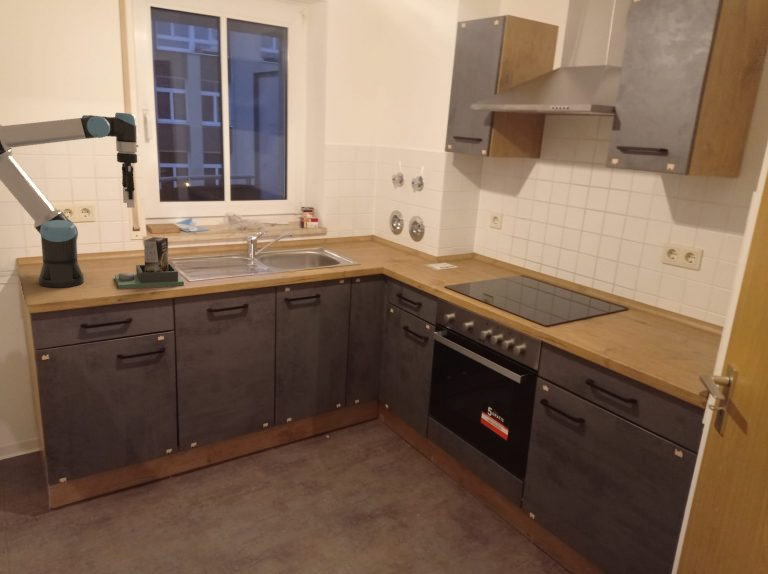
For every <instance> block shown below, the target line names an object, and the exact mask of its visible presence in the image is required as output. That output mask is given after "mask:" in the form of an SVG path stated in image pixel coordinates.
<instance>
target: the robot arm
mask: <svg viewBox="0 0 768 574" xmlns="http://www.w3.org/2000/svg"><path fill="white" fill-rule="evenodd" d="M136 119H137V118H136V115H135V114H133V113H125V112H115V115H114V116H113V117H112V116H110V117H109V116H101V115H92V114H89V115H88V114H87V115H85V114H84V115H81V117H78V118H77V117H76V118H69V119H68V118H67V119H59V120H48V121H47V120H46V121H38V122H30V123H29V122H27V123H18V124H17V123H16V124H8V125H2V124H0V182H2V183H3V185H4V186H5V187H6V189H7V190H8V191H9V192H10V194H11V195H12V196H13V197H14V198H15V199H16V201H17V202H18V203H19V204H20V205H21V206H22V207H23V209H24V211H26V212H27V214H28V215H29V217H30V218H31V219H32V220H33V221H34V224H33V227H34V228H35V230H36V231H37V232H38V234H40V240H41V254H42V267H41V270H40V272H39V273H40V274H39V277H38V283H39V285H40V286H42V287H45V288H55V289H56V288H71V287H75V286H79V285H82V284H84V282H85V279H84V278H85V277H84V273H83V272H82V270H81V267H80V265H79V263H78V261H79V259H78V246H77V244H78V243H77V240H78V238H79V237H78V236H79V232H78V227H77V226H76V224H75V223H74V222H73V221H72V220H69V218H68V217H67V216H66V214H65V213H64V212H63V210H60V209H56V208H55V207H54V206H53V205H52V204H51V202H50V201H49V200H48V199H47V197H46V196H45V195H44V194H43V192H42V191H41V189H40V188H38V186H37V185H36V184H35V182H34V181H33V180H32V179H31V178H30V176H29V175H28V174H27V172H26V171H25V170H24V169H23V168H22V166H21V165H20V163H18V161H17V160H16V159H15V158H14V156H13V153H12V152H13V148H19V147H27V146H37V145H45V144H52V143H53V144H54V143H60V142H70V141H78V140H87V139H88V140H89V139H96V138H97V139H101V138H105V137H112V138H115V139H116V140H115V141H116V142H115V143H116V145H115V146H116V147H115V148H116V149H115V150H116V151H117V153H116V162H117V163H121V173H122V175H121V177H122V181H121V184H122V198H123V199H122V202H123V203H122V204H126V208H129V209H130V208H131V209H132V208H133V209H134V208H135V190H136V189H135V182H134V166H133V165H132V164H137V163H138V154H137V152H138V149H137V148H139V145H138V144H137V140H138V139H137V137H138V136H137V121H136Z"/></svg>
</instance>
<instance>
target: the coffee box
mask: <svg viewBox="0 0 768 574" xmlns="http://www.w3.org/2000/svg"><path fill="white" fill-rule="evenodd" d="M143 241H144V243H143V244H144V246H143V249H144V252H143V253H144V265H145V272H167V271H168V264H169V240H168V237H161V236H160V237H158V236H157V237H155V236H152V237H150V238H147V239H144V240H143Z"/></svg>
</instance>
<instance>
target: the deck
mask: <svg viewBox="0 0 768 574" xmlns="http://www.w3.org/2000/svg"><path fill="white" fill-rule="evenodd" d="M135 268H136V269H135V270H136V273H132V272H121V273H119V274H114V279H115V281H116V285H117V287H118V289H119V290H120V289H138V288H155V287H173V285H178V286H184V285H185V284H184V283H185V281H184V280H183V279H182V277H181V276H180V275H179V271H178V270H177V268H176V267H175V266H174V265H173V263H168V271H167V272H145V264H136V265H135Z"/></svg>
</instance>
